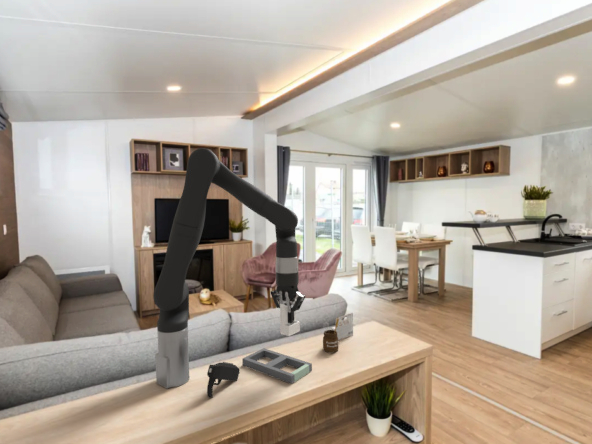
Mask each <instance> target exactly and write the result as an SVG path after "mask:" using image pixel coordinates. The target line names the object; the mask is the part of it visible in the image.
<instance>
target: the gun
mask: <svg viewBox="0 0 592 444" xmlns="http://www.w3.org/2000/svg"><path fill="white" fill-rule="evenodd" d="M239 374H240V368H239V367H238V366H237V365H236V364H234V363H232V362H226V361H222V362H218V363H214V364H209V365H208V369H207V378H209V379H208V382H207V387H206V388H207V389H206V395H207V398H211V399H212V398H214V396H213V389H214V388H213V387H214V386H219V385H220V384H221V382H222V381H233V382H237V381H238V380H239V379H238V378H239V376H240V375H239Z"/></svg>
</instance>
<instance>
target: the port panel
mask: <svg viewBox="0 0 592 444" xmlns="http://www.w3.org/2000/svg"><path fill="white" fill-rule="evenodd" d="M264 358H266V359H269V360H270V361H268V362H267V363H264V362H260V361H259V360H261V359H264ZM312 365H313V364H312V362H307V361H305V360H302V359H299V358H295V357H293V356H289V355H286V354H284V353H280V352H278V351H273V350H271V349H268V348H265V347H264V348H262V349H259V350H257V351H255V352H253V353H252V354H249V355H246V356H244V357H242V366H243V367H245V368H248V369H250V370H253V371H256V372H258V373H261V374H264V375H267V376H269V377H272V378H274V379H277V380H280V381H283V382H285V383H287V384H291V385H293V384H294V383H296V382H297V381H299V380H301V379H302V378H303V377H305V376H306V375H308V374H309V373H311V372H312V371H313V366H312ZM287 366H289V367H292V368H295V370H293V371H291V372H289V371H286V370H283V368H285V367H287Z"/></svg>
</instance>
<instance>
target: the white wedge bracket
mask: <svg viewBox="0 0 592 444" xmlns="http://www.w3.org/2000/svg"><path fill="white" fill-rule="evenodd" d="M279 320H280V321H279V322H280V324H279V325H280V326H279V327H280V335H282V336H287V337H291V336H292V335H294V334H297V333H298V332H301V322H300V321H299V320H296V311H294V321H293V322H292V323H288V306H286V305H284V304H280V308H279Z"/></svg>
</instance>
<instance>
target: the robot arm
mask: <svg viewBox="0 0 592 444" xmlns="http://www.w3.org/2000/svg"><path fill="white" fill-rule="evenodd" d="M211 184H213V185H216V186H218V187H219V188H221V189H223V190H224V191H226V192H227V193H229V194H230V195H232V197H234V198H235V199H236V200H237V201H238V202H239V203H241V204H242V205H244V206H245V207H247V208H248V209H250V210H251V211H252V212H254V213H255V214H257V215H259V216H260V217H262V218H265V219H266V220H267V221H269V222H270V223H271V224H273V225H274V227H275V228H274V231H275V238H276V242H275V243H276V244H275V255H276V256H275V284H276V287H275V289H274V290H271V291H270V296H271V297H272V300H273V302H274V306H275V307H276V308H277V309H280V304H284V305H286V306H288V323H292V322H293V321H294V311H295V312H296V311H299V310H300V309H301V307H302V304H303V303H304V300H305V299H306V295H305V294H301V292H299V291H300V290H299V288H298V286H299V282H300V281H299V280H300V279H299V260H298V243H297V242H298V241H297V239H296V228H297V226H298V224H299V219H298V216H297V214H296V213H295V212H294V211H293V210H291V209H290V208H288V207H287V206H285V205H283V204H281V203H280V202H278V201H276V200H275V199H274V198H273V197H272V196H270V195H269V194H267V193H266V192H264V191H263V190H261V189H260V188H259V187H257V186H256V185H254V184H252V183H251V182H249V181H247V180H246V179H244V178H242V177H240V176H239V175H237V174H236V173H234V172H233V171H231V170H230V168H228V167H227V166H226V165H225V164H224V163H223V162H222V161H221V160H220V159H219V158H218V156H217V155H216V154H215V152H213V151H212V150H211V149H209V148H205V147H200V148H197V149H194V150H193V151H192V152H191V153H190V155H189V157H188V159H187V165H186V172H185V180H184V185H183V188H182V192H181V193H182V194H181V196H180V198H179V202H178V204H177V208H176V210H175V211H176V212H175V215H174V217H173V221H172V225H171V229H170V234H169V238H168V242H167V246H166V252H165V257H164V261H163V265H162V268H161V272H160V274H159V277H158V280H157V282H156V285H155V288H154V291H153V295H152V296H153V302H154V304H155V306H156V307H157V308H158V309H159V314H158V315H159V316H158V319H157V321H156V323H157V325H156V326H157V327H156V328H157V329H156V330H157V353H156V354H155V378H156V380H155V381H156V384H158V385H159V386H161V387H163V388H165V389H170V388H173V387H174V388H176V387H180V386H182V385H184V384H186V383H187V382H188V381H189V380H190V360H189V359H190V358H189V357H190V356H189V355H190V354H189V327H188V324H189V323H188V322H189V315H190V293H189V292H190V291H189V287H188V286H189V285H188V284H187V282H186V278H187V273H188V269H189V267H190V264H191V262H192V260H193V258H194V255H195V253H196V251H197V249H198V246H199V243H200V241H201V237H202V234H203V230H204V227H205V220H206V211H207V210H206V209H207V200H208V194H209V190H210V187H211Z"/></svg>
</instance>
